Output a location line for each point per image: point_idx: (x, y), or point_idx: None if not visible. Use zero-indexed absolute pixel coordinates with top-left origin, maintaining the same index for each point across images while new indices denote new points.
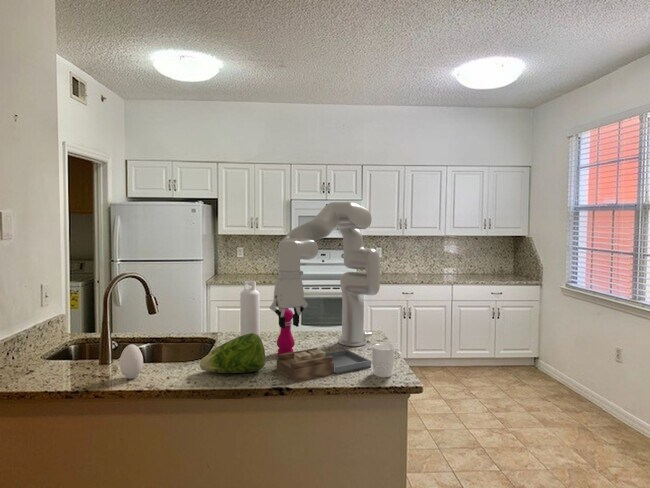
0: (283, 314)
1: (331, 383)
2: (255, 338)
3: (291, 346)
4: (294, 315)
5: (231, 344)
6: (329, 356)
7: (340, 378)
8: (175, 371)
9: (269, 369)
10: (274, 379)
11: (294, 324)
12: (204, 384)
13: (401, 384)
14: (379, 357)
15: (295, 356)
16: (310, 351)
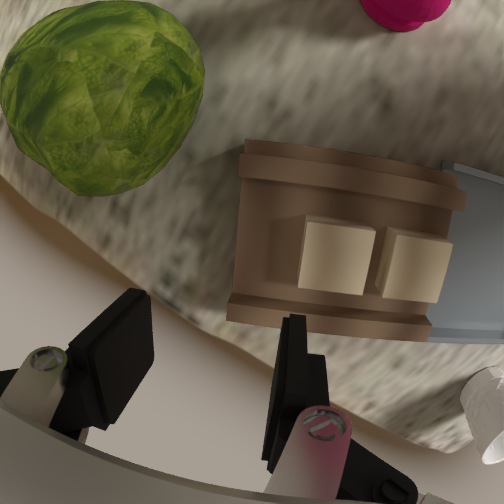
0: (79, 441)
1: (331, 375)
2: (59, 148)
3: (418, 21)
4: (268, 424)
5: (6, 106)
6: (422, 331)
7: (384, 361)
8: (9, 30)
9: (226, 125)
10: (188, 238)
11: (277, 352)
12: (18, 156)
13: (443, 443)
14: (475, 440)
15: (304, 235)
16: (398, 247)
